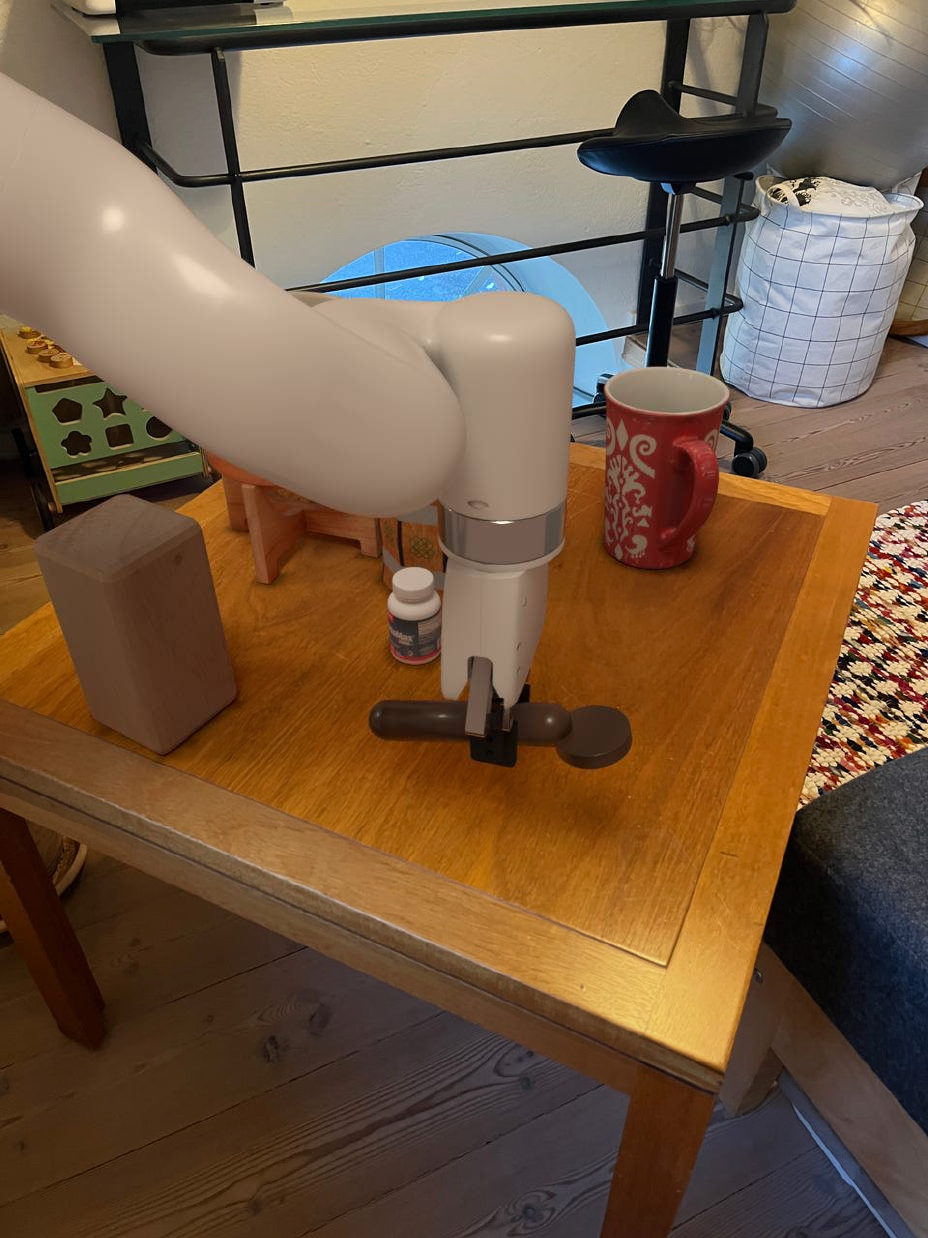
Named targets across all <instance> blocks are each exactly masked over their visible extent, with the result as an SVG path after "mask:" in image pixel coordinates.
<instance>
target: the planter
mask: <svg viewBox="0 0 928 1238" xmlns="http://www.w3.org/2000/svg"><path fill="white" fill-rule="evenodd" d="M286 291H287V290H286ZM287 292H288V293H290V294H291V295H293V296H294V297H296V298H297V299H299V300H300V301H302V302H303V303H305V304H306V305H308V306H309V307H313V306H315V305H317V304H320V303H323V302H326V301H331V300H335V299H341V298H344V297H343V296H341V295H335V294H329V293H325V292H324V293H323V292H315V291H303V290H301V291H300V290H299V291H297V290H295V291H294V290H288V291H287ZM204 452H205V457H206V459H207V462H208V464H209V466H210V467H211V468H213V470H215V471H216V472H217V473H218V474H219V475H220V476H221V480H222V485H223V491H224V495H225V501H226V506H227V507H226V508H227V510H228V518H229V522H230V527H231V529H232V530H235V531H241V532H245V533H246V532H247V531H249V537H250V543H251V548H252V554H253V560H254V566H255V570H256V571H255V572H256V576H257V581H258V583H261V584H265V585H271V584H272V583H273V582H274V581H275V580H276V578H278V576H279V570H278V563H277V561H278V560H279V559H280V558H281V557H282V556H283V554H284V553H285V552H286V551H287V550H288V549H289V548H291V546H292V545H293V544H294V543H295V542H296V541H297V540H298V539H299V538H300V537H301V536H302V535H303V534H304V533H305V532H306V531H308V532H309V531H310V532H315V533H321V534H325V535H329V536H336V537H341V538H345V539H351V540H356V541H359V544H360V551H361V556H367V557H371V558H379V557H380V556H381V554H383V550H382V542H381V536H380V530H379V525H378V518H369V517H363V516H358V515H353V514H348V513H345V512H341V511H338V510H335V509H332V508H329V507H327V506H324V505H322V504H319V503H317V502H314V501H312V500H310V499H307V498H305V497H303V496H301V498H300V499H299V500H296V499H293V498H289V497H287V496H285V495H283V494H281V493H279V492H277V491H288V490H287V489H285V488H282V487H280V486H278V485H276V484H273V483H271V482H269V481H267V480H265V479H263V478H260V477H258V476H256V475H253V474H251V473H249V472H247V471H245V470H243V469H241V468H239V467H237V466H235V465H233V464H231V463H229V462H227V461H225V460H223V459H221V458H219V457H218V456H216V455H214V454H212V453H210V452H208V451H207V450H205V449H204Z"/></svg>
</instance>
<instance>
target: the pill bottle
mask: <svg viewBox="0 0 928 1238" xmlns="http://www.w3.org/2000/svg"><path fill="white" fill-rule="evenodd" d="M392 582H393V592H392V591H391V593H390V594H389V596H388V598H387V603H386V606H387V607H386V608H387V621H388V634H389V648H390V653H391V654H392V656H393V657H394V659H396V660H397V661H399V662H401V663H403V664H407V665H412V666H413V665H424V664H427V663H431V662H433V660H435V659H437V658H438V656H439V655H441V628H442V610H441V601H440V597H439V595H438V593H437V592H436V591H435V590H434V578H433V575H432V573H431V572H430V571H428V570H426V569H424V568H420V567H409V568H405V569H402V570H400V571H398V572H397V573H396V574H395V575H394V576H393V580H392Z"/></svg>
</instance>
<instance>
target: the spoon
mask: <svg viewBox="0 0 928 1238" xmlns="http://www.w3.org/2000/svg"><path fill="white" fill-rule="evenodd" d="M467 708H468V700H457V701H456V700H446V699H445V700H442V699H441V700H440V699H439V700H438V699H436V700H435V699H397V698H396V699H393V698H392V699H391V698H390V699H389V698H388V699H383V700H380V701H378V702H376V704H374V705H373V707H372V708H371V709H370V711H369V713H368V718H367V721H368V722H367V723H368V727H369V730H370V731H371V733H372V734H373V735H374V736H375V737H376V738H378V739H380V740H382V741H387V742H406V743H407V742H408V743H429V744H455V745H456V744H457V745H470V735H468V734H465V725H466V716H467ZM491 709H496V710H500V711H502V705H501V702H491ZM513 719H514V720H516V721H518V740H517V747H532V748H535V747H536V748H555V752H556V755H557V756H558V758H559V759H560V760H561V761H562V762H564V763H565V764H567V765H569V766H570V767H573V768H576V769H581V770H582V769H583V770H599V769H603V768H604V769H605V768H608V767H610V766H613V765H614V764H616V763H618V762H620V761H621V760H623V759H624V758H625V757H626V756H627V755H628V753H629V752H630V750H631V748H632V745H633V734H632V727H631V722H630V720H629V718H628V717H627V715H626V714H625V713H624V712H623V711H621V710H619V709H618V708H615V707H611V706H608V705H602V704H592V705H585V706H579V707H577V708H575V709H572V710H570V711H568V710H567V709H566V708H565V707H563V706H562V705H560V704H558V703H556V702H537V701H536V702H533V701H530V702H517V703H516V704H514V713H513Z"/></svg>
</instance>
